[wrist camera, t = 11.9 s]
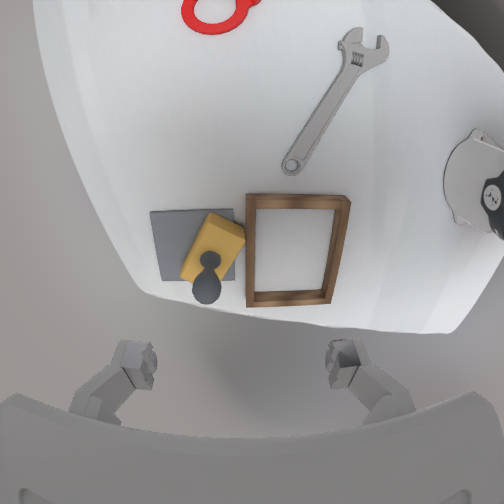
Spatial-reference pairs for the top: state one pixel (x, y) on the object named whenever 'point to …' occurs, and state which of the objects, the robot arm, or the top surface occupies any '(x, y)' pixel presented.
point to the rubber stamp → (212, 256)
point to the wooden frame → (334, 255)
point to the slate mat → (180, 238)
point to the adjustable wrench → (336, 94)
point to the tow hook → (242, 6)
